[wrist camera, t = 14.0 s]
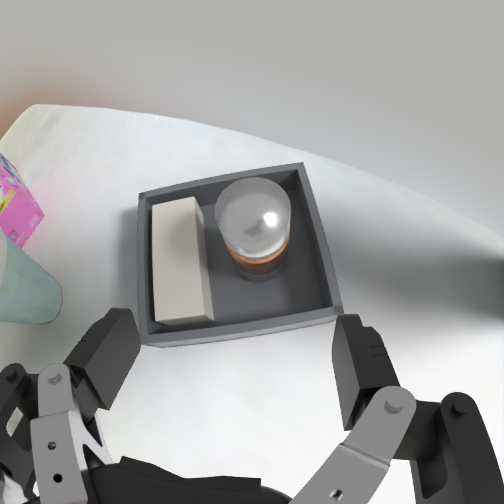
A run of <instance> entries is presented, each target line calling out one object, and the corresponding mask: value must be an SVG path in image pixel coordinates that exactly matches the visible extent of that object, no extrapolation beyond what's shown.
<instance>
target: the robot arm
mask: <svg viewBox="0 0 504 504" xmlns="http://www.w3.org/2000/svg"><path fill="white" fill-rule="evenodd" d="M140 347H141V340H140V336H139V333H138V330H137V327H136V324H135V321H134V317H133V314H132V312H131V310H130V309H124V308H111V309H110V310H109V311H108V313H107V314H106V315H105V316H104V318H101V319H100V320H98V321H97V322H96V323H94V324H93V325H92V326H91V327H90V328H89V330H88V331H87V332H86V335H84V336H83V337H82V339H81V341H79V342H78V344H77V345H76V346H75V348H74V349H73V350H72V352H71V353H70V354H69V356H68V357H67V358H66V360H65V361H64V362H63V364H61V363H55V364H51V365H49V366H47V367H45V368H44V369H43V370H42V371H41V373H40V374H27V372H26V370H25V369H24V367H23V366H22V365H21V364H18V363H14V364H10V365H8V366H7V367H5V368H4V369H3V370H2V371H1V373H0V504H367V503H368V502H369V500H370V499H371V497H372V496H373V494H374V493H375V491H376V490H377V488H378V486H379V485H380V483H381V482H382V480H383V478H384V477H385V475H386V473H387V471H388V469H389V467H390V462H391V460H392V459H401V460H410V466H411V472H412V478H413V485H414V492H415V499H416V504H504V483H503V480H502V476H501V472H500V469H499V465H498V462H497V459H496V456H495V453H494V450H493V447H492V444H491V441H490V438H489V435H488V433H487V430H486V427H485V425H484V422H483V419H482V417H481V414H480V412H479V410H478V407H477V405H476V403H475V401H474V400H473V399H472V398H471V397H470V396H469V395H467V394H465V393H461V392H453V393H450V394H448V395H446V396H445V397H444V398H443V400H442V402H441V403H438V402H426V401H419V400H416V399H415V398H414V396H413V395H412V393H410V392H409V391H408V390H406V389H404V388H402V387H401V386H400V384H399V381H398V378H397V376H396V373H395V371H394V368H393V365H392V363H391V360H390V358H389V355H388V353H387V350H386V348H385V347H384V343H383V341H382V338H381V336H380V334H379V333H378V332H377V331H376V330H374V329H373V328H372V327H363V325H362V322H361V320H360V317H359V315H358V314H339V315H338V316H337V319H336V326H335V332H334V338H333V344H332V363H333V368H334V373H335V379H336V385H337V390H338V396H339V402H340V408H341V414H342V421H343V427H344V431H348V430H351V432H350V433H349V435H348V436H347V438H346V439H345V440H344V442H343V443H340V444H339V445H338V446H337V447H336V449H335V450H334V451H333V452H332V454H331V455H330V456H329V457H328V459H327V460H326V461H325V463H324V464H323V465H322V466H321V467H320V469H319V470H318V471H317V472H316V473H315V475H314V476H313V477H312V478H311V479H310V480H309V482H308V483H307V484H306V485H305V486H304V487H303V488H302V489H301V491H300V492H299V493H298V494H297V495H296V496H295V497H294V498H293V499H292V498H291V497H289V496H287V495H286V494H284V493H282V492H280V491H277V490H275V489H272V488H269V487H265V486H261V478H246V477H232V476H215V477H204V478H182V477H180V476H177V475H175V474H173V473H171V472H168V471H166V470H164V469H162V468H160V467H158V466H156V465H154V464H151V463H147V462H143V461H139V460H136V459H132V458H128V457H125V456H122V457H121V460H120V463H114V461H113V460H112V458H111V456H110V454H109V452H108V449H107V446H106V443H105V440H104V436H103V433H102V429H101V426H100V422H99V418H98V415H97V414H96V411H97V409H98V408H101V409H105V410H109V409H110V407H111V405H112V403H113V401H114V399H115V398H116V396H117V394H118V392H119V390H120V388H121V386H122V384H123V382H124V380H125V378H126V376H127V374H128V372H129V370H130V369H131V367H132V365H133V363H134V361H135V359H136V357H137V356H138V354H139V351H140ZM16 407H18V409H19V410H20V411H21V412H22V413H23V417H22V419H21V420H20V422H19V424H18V426H17V428H16V429H15V431H14V433H13V435H12V437H10V436H9V434H8V433H7V430H6V425H7V422H8V420H9V419H10V417H11V415H12V413H13V412H14V410H15V408H16ZM33 468H35V475H36V481H37V486H38V491H39V496H38V497H35V498H33V499H31V500H29V501H28V500H27V498H26V497H24V495H23V492H24V489H25V487H26V484H27V482H28V480H29V477H30V475H31V472H32V470H33Z"/></svg>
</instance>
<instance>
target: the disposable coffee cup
mask: <svg viewBox="0 0 504 504" xmlns="http://www.w3.org/2000/svg"><path fill="white" fill-rule="evenodd" d="M61 303H62V294H61V288H60V286H59V285H58V283H57V282H56V280H55V279H54V277H53V276H51V275H50V274H49V273H48V272H47V271H45V270H44V269H43V268H42V267H41V266H40V265H38V264H37V263H36V262H35V261H34V260H33V259H32V258H30V257H29V256H28V255H27V254H26V253H25V252H24V251H23V250H22V249H20V248H19V247H18V246H17V245H16V244H15V243H14V242H13V241H12V240H11V239H10V238H9V237H8V236H7V235H6V234H5V233H4V232H3V231H2V228H1V227H0V321H5V322H16V323H29V324H44V323H47V322H50V321H52V320H54V318H55V317H56V316H57V314H58V313H59V311H60V307H61Z"/></svg>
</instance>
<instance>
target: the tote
mask: <svg viewBox="0 0 504 504" xmlns="http://www.w3.org/2000/svg"><path fill="white" fill-rule="evenodd" d="M250 177H259V178H265V179H268V180H271V181H273V182H275V183H276V184H278V185H279V186H280V187H281V188H282V189H283V190H284V191H285V192H286V194H287V196H288V197H289V200H290V205H291V215H290V235H289V246H288V253H287V261H286V265H285V267H284V269H283V271H282V272H281V273H280V274H279V275H278V276H277V277H276V278H274V279H272V280H270V281H267V282H261V283H260V282H252V281H249V280H247V279H245V278H244V277H243V276H241V275H240V273H239V272H238V271H237V269H236V267H235V265H234V262H233V261H232V259H231V257H230V254H229V252H228V250H227V247H226V245H225V243H224V240H223V238H222V234H221V231H220V229H219V227H218V224H217V222H216V218H215V205H216V202H217V199H218V197H219V196H220V194H221V193H222V192H223V190H224V189H225V188H226V187H228V186H229V185H230V184H232V183H234V182H236V181H238V180H241V179H244V178H250ZM193 196H194V197H195V199H196V201H197V203H198V205H199V208H200V210H201V212H202V214H203V220H204V232H205V243H206V253H207V263H208V272H209V282H210V291H211V299H212V308H213V316H214V321H211V322H204V323H196V324H188V325H180V326H168V325H165V324H162V323H160V322H157V321H156V320H155V306H154V288H153V261H152V205H157V204H161V203H165V202H170V201H174V200H179V199H184V198H189V197H193ZM137 293H138V315H139V330H140V340H141V344H142V345H148V346H154V347H160V348H164V347H175V346H185V345H194V344H203V343H211V342H219V341H226V340H233V339H240V338H247V337H253V336H260V335H266V334H272V333H277V332H283V331H289V330H294V329H299V328H304V327H309V326H314V325H319V324H324V323H329V322H333V321H335V320H336V319H337V316H338V315H339V314H344V310H343V306H342V301H341V297H340V293H339V288H338V284H337V280H336V276H335V272H334V268H333V264H332V260H331V256H330V252H329V248H328V245H327V241H326V237H325V233H324V230H323V226H322V223H321V219H320V216H319V212H318V209H317V205H316V202H315V199H314V195H313V192H312V189H311V186H310V182H309V179H308V176H307V173H306V170H305V167H304V164H303V162H301V163H293V164H286V165H279V166H272V167H266V168H260V169H253V170H248V171H242V172H236V173H231V174H225V175H220V176H215V177H210V178H205V179H200V180H195V181H190V182H186V183H181V184H176V185H172V186H168V187H163V188H159V189H155V190H151V191H147V192H143V193H139V202H138V224H137Z"/></svg>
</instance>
